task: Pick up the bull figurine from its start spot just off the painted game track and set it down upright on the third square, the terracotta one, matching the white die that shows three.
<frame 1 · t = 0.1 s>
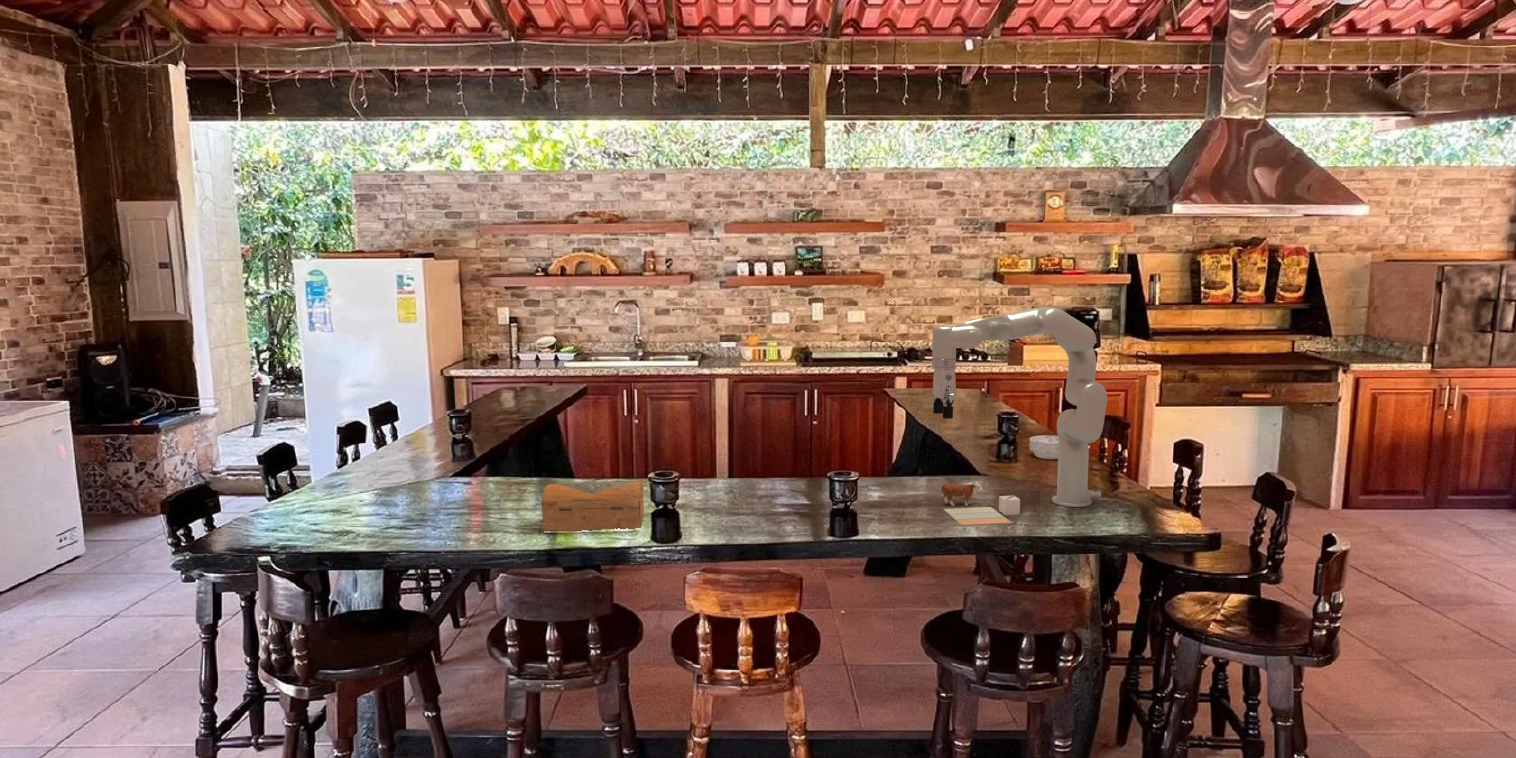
hand: (942, 415, 286), 31 cm above the table, tool pointing down, fingers open, 9 cm apart
paper bowls: (1048, 457, 363), on the table
die: (1009, 512, 284), on the table
game board: (976, 516, 280), on the table
bull figurine: (961, 505, 294), on the table
wooden box: (595, 526, 276), on the table
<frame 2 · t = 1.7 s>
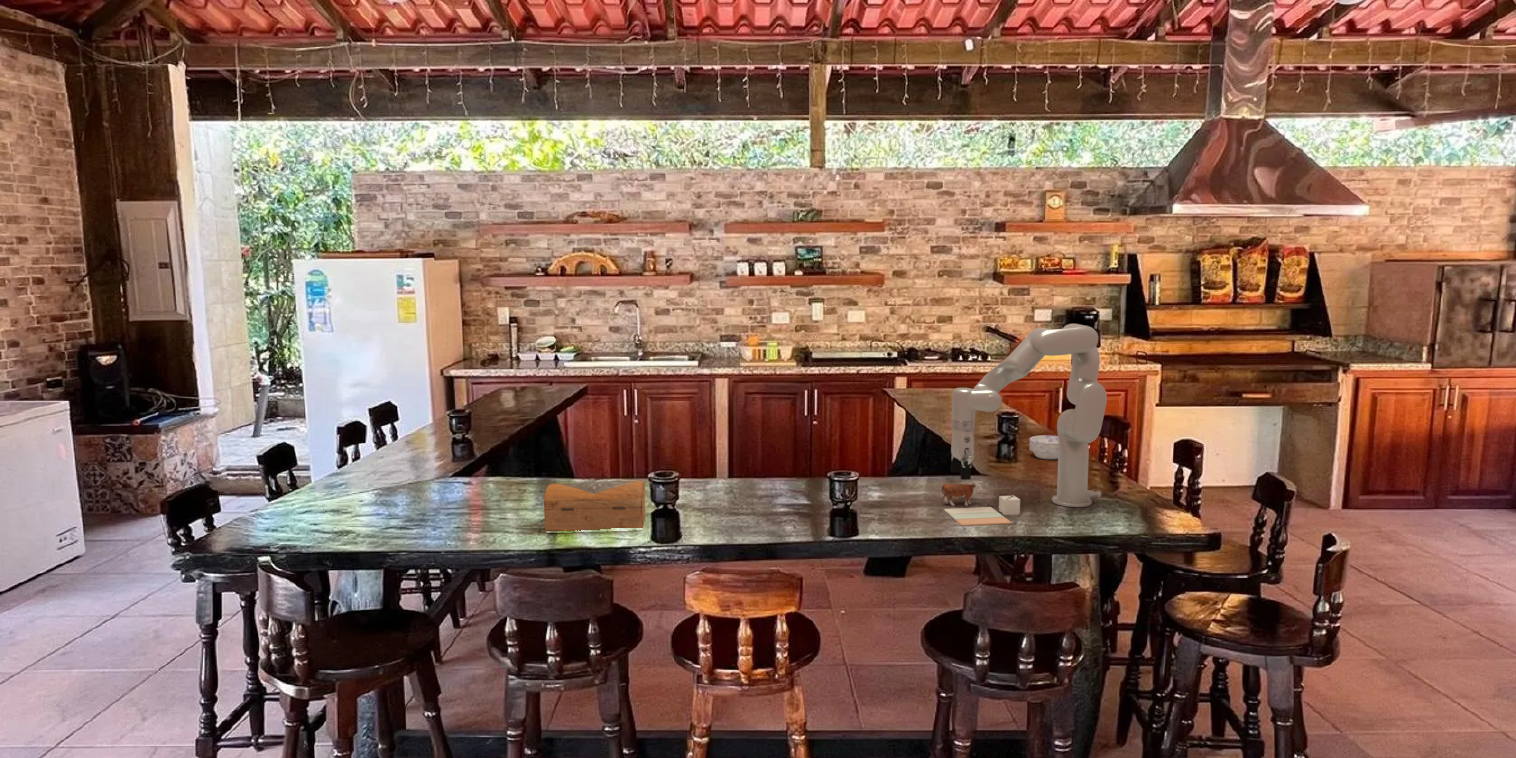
hand: (960, 475, 292), 10 cm above the table, tool pointing down, fingers open, 9 cm apart
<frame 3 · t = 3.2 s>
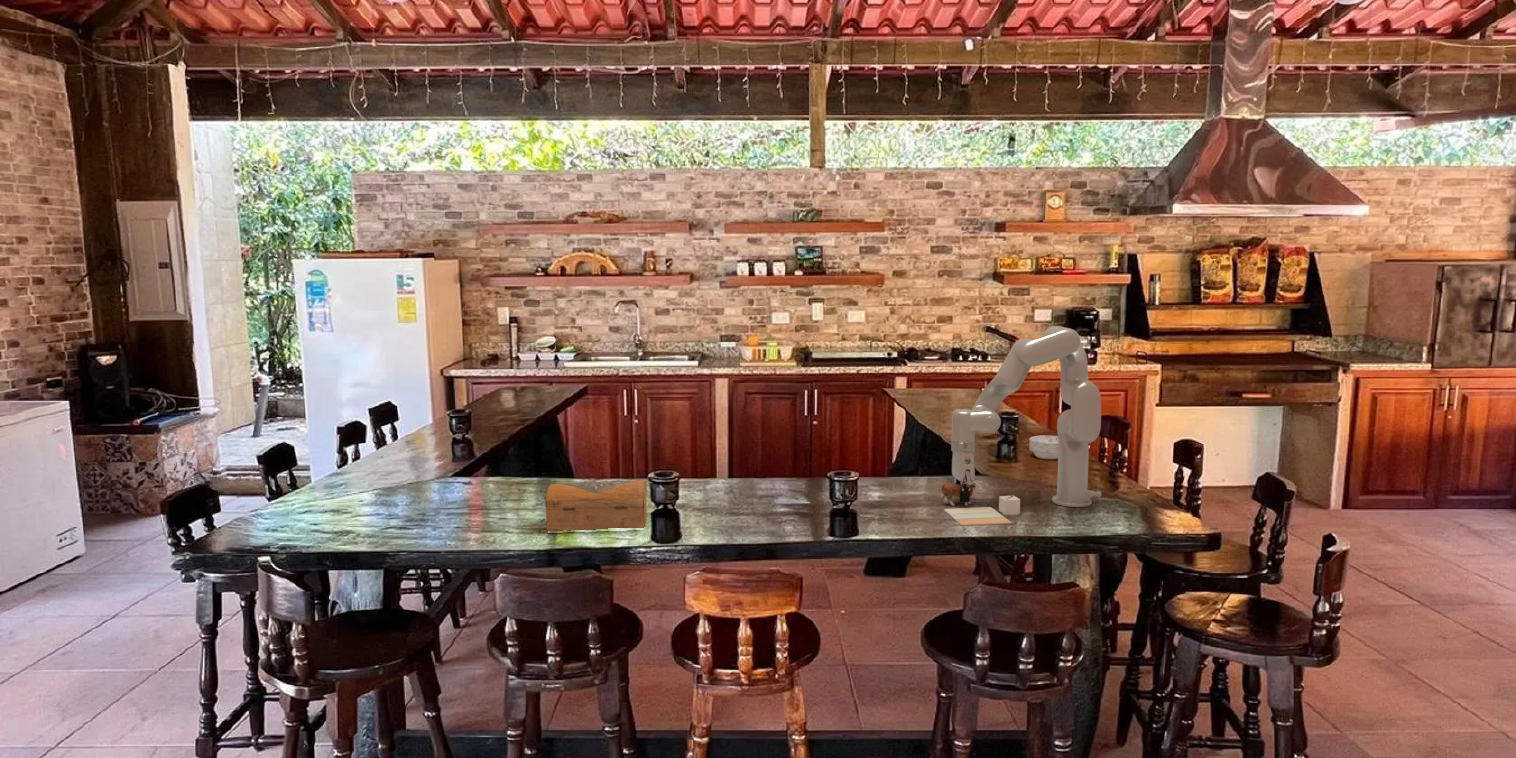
hand: (961, 499, 293), 2 cm above the table, tool pointing down, fingers closed on bull figurine, 5 cm apart
bull figurine: (961, 505, 294), on the table, touching gripper
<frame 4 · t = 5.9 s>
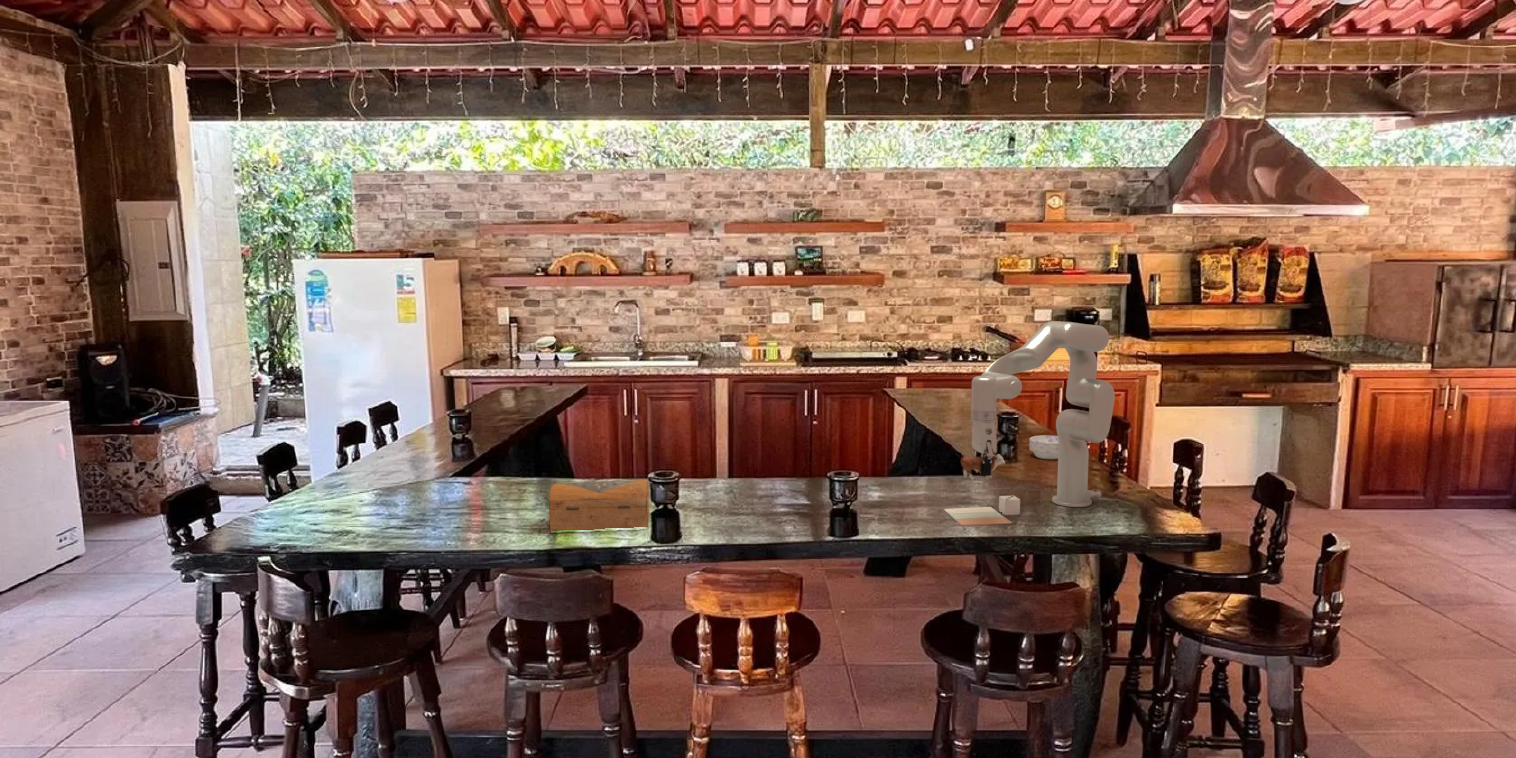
hand: (982, 472, 273), 15 cm above the table, tool pointing down, fingers closed on bull figurine, 4 cm apart
bull figurine: (982, 479, 274), point 13 cm above the table, touching gripper
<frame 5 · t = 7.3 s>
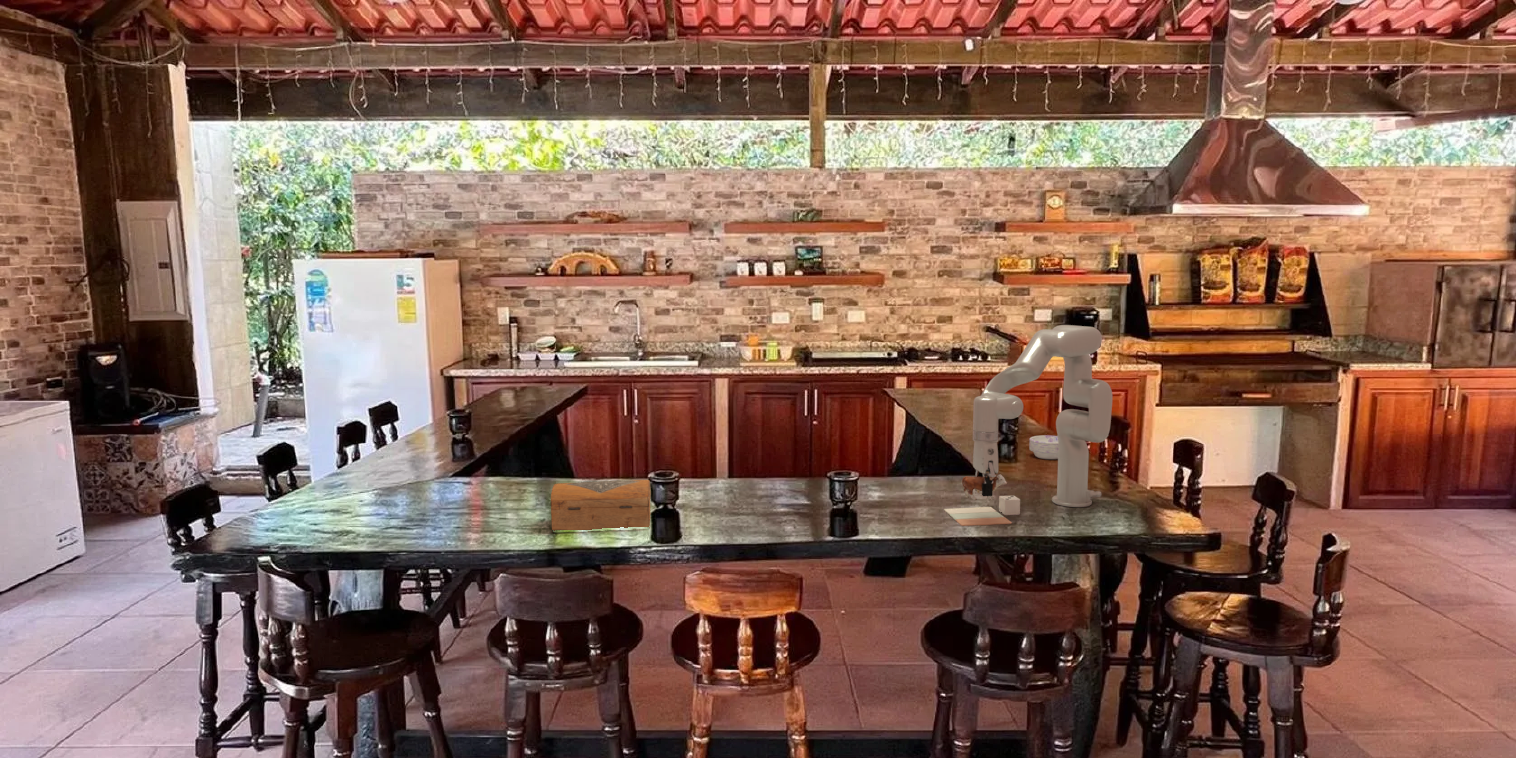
hand: (983, 492, 272), 9 cm above the table, tool pointing down, fingers closed on bull figurine, 4 cm apart
bull figurine: (983, 499, 273), point 7 cm above the table, touching gripper
when the fingers open (4 cm above the table, at t = 8.7 s): bull figurine drops 1 cm, resting on game board.
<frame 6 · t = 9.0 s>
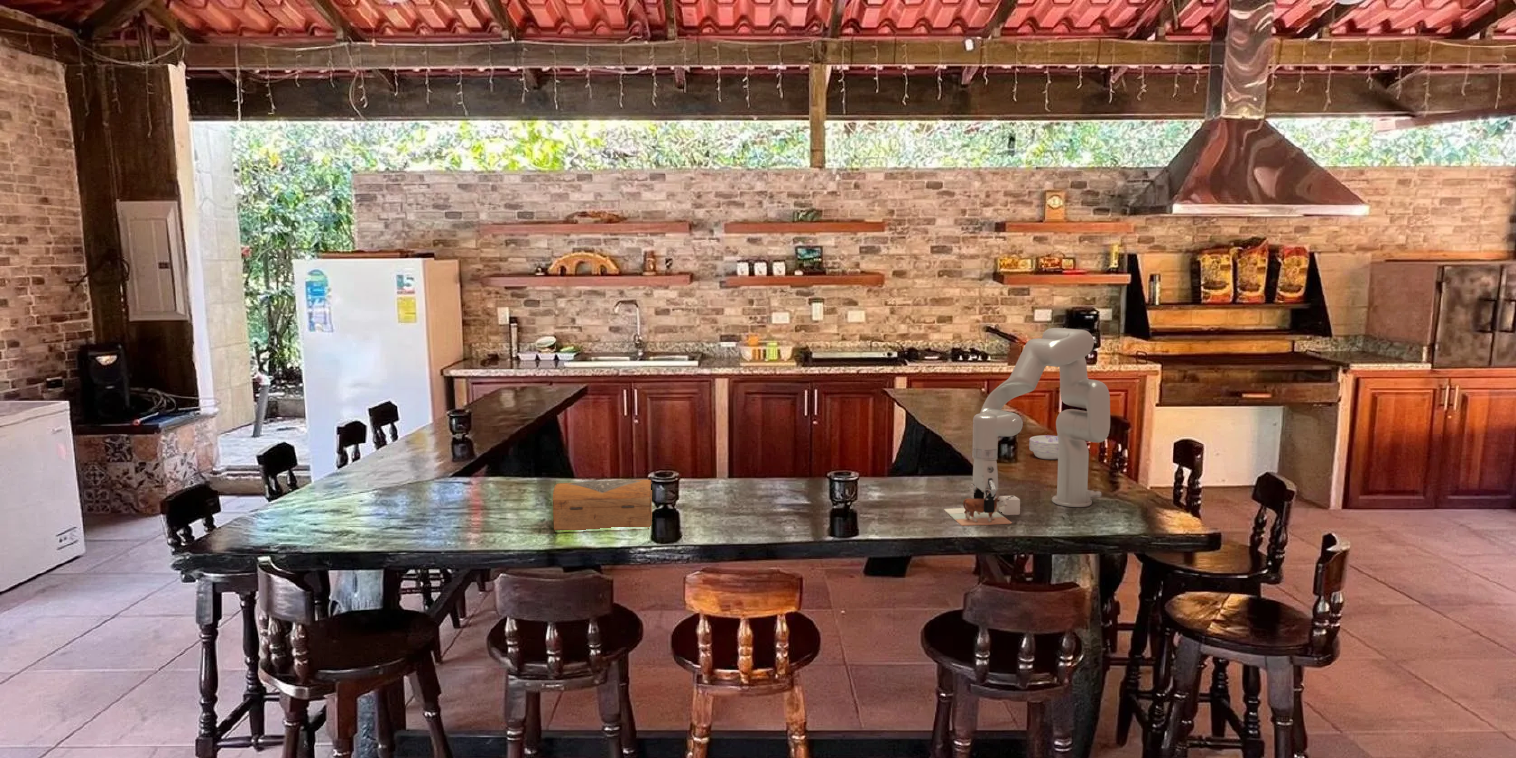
hand: (983, 508, 273), 5 cm above the table, tool pointing down, fingers open, 8 cm apart
bull figurine: (984, 521, 274), resting on game board
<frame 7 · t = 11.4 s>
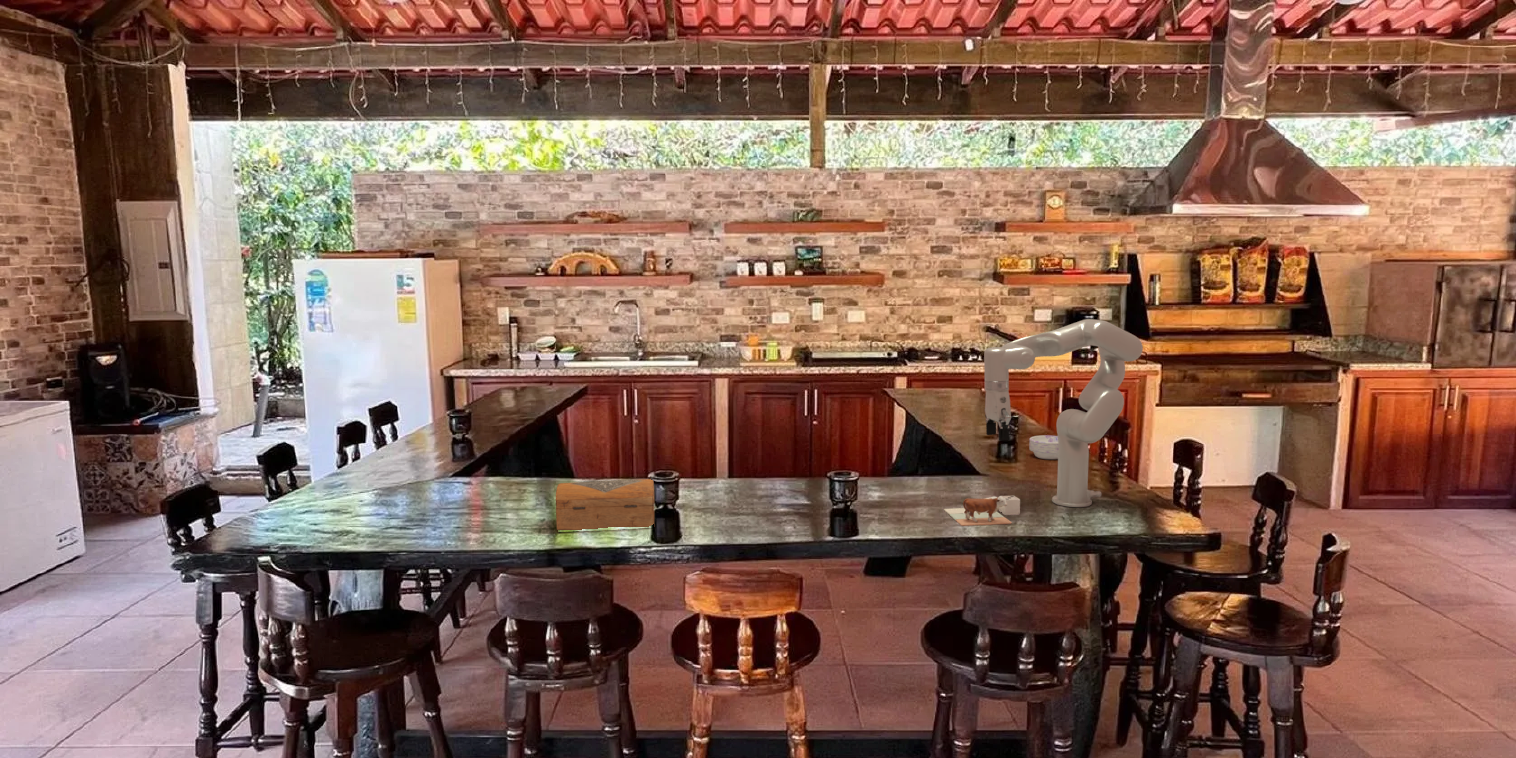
hand: (997, 437, 285), 24 cm above the table, tool pointing down, fingers open, 9 cm apart
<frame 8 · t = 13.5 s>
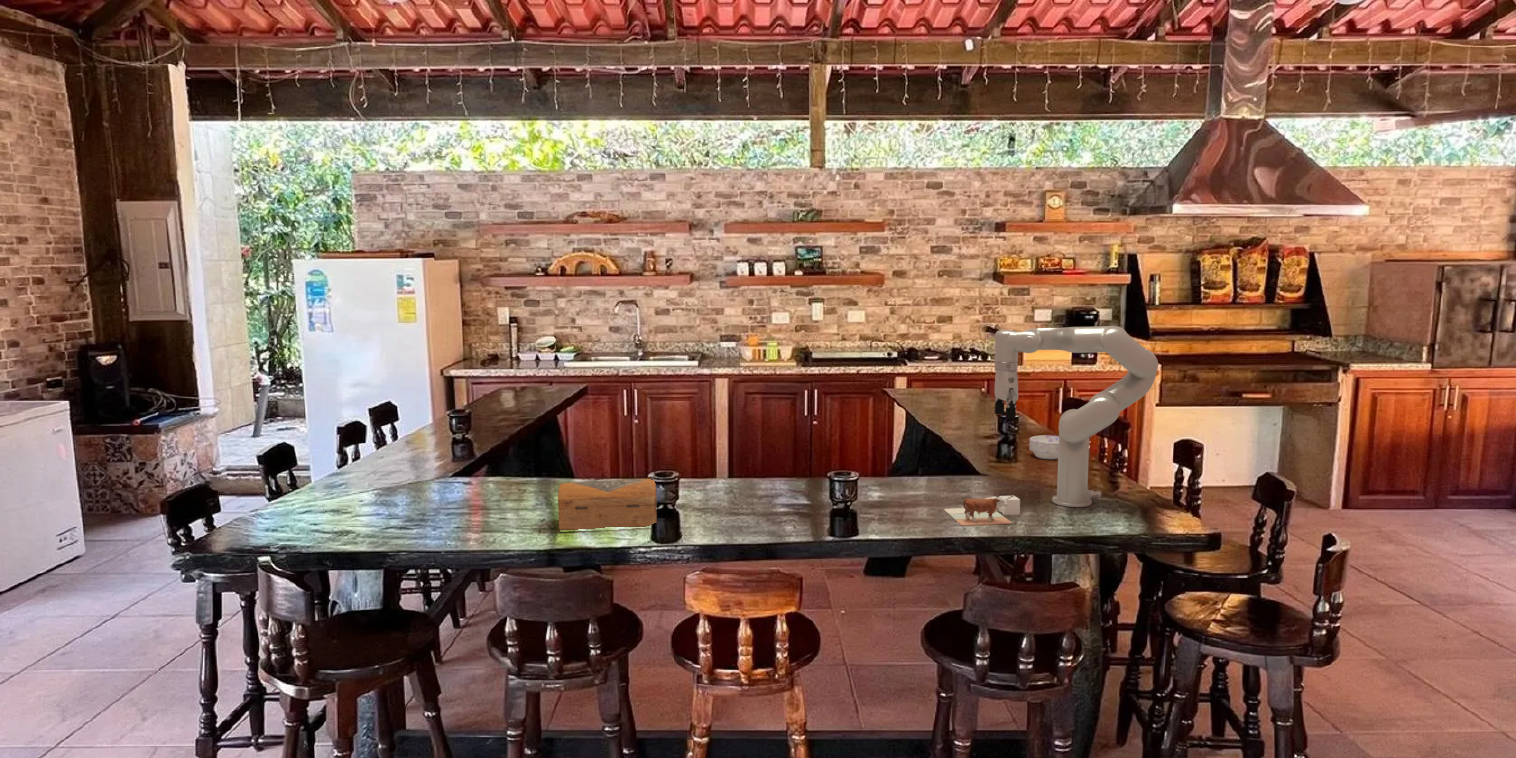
hand: (1004, 416, 298), 28 cm above the table, tool pointing down, fingers open, 9 cm apart
at the end: bull figurine inside the target area on the game board (0.3 cm from its centre), point 0.2 cm above the game board's base; bull figurine tilted 0°; the gripper is holding nothing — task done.
